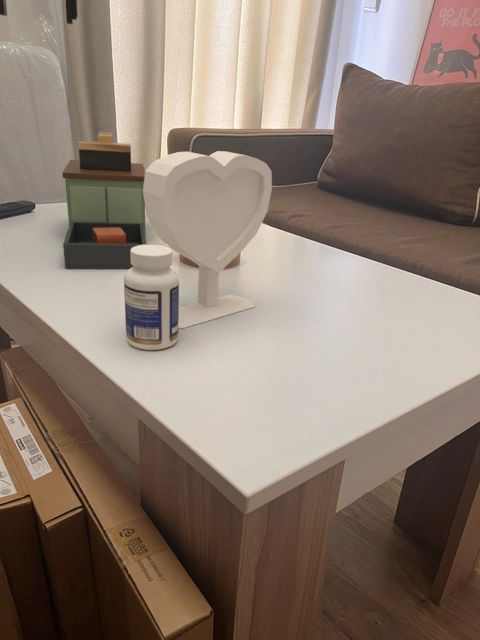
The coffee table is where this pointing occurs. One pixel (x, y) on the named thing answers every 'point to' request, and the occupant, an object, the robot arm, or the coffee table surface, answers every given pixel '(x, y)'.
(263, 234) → the coffee table surface
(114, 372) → the coffee table surface
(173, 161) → the heart sculpture
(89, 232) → the tray
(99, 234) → the block
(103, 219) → the cabinet
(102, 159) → the brush
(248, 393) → the coffee table surface
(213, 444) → the coffee table surface
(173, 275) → the pill bottle
